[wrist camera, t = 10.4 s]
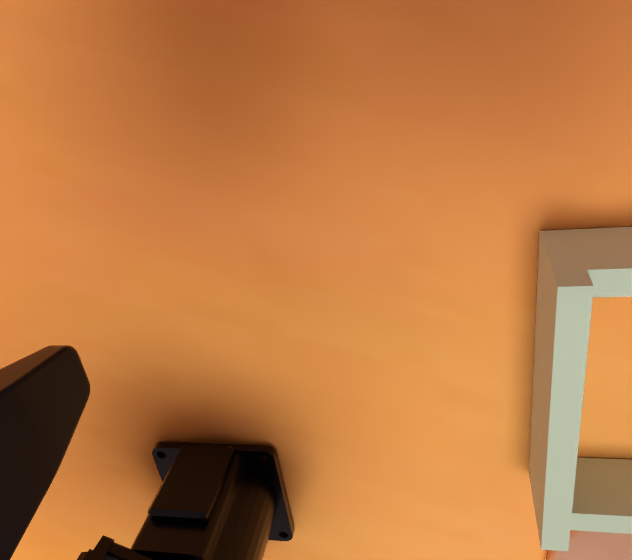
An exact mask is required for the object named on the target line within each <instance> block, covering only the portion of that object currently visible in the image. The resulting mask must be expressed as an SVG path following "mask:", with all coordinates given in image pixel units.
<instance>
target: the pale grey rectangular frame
mask: <svg viewBox="0 0 632 560" xmlns="http://www.w3.org/2000/svg"><path fill="white" fill-rule="evenodd" d="M628 296H632V227H611V228H590V229H569V230H547V231H539V253H538V276H537V299H536V322H535V344H534V367H533V390H532V413H531V435H530V458H529V476H530V482H531V488H532V495H533V501H534V507H535V514H536V520H537V526H538V533H539V539H540V545H541V550H555V551H568V549H569V538H570V530H577V531H593V532H609V533H625V534H632V459H605V458H577V455H578V445H579V434H580V424H581V413H582V403H583V393H584V382H585V372H586V361H587V351H588V341H589V330H590V320H591V309H592V299H593V297H628Z"/></svg>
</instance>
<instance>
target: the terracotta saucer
mask: <svg viewBox="0 0 632 560" xmlns="http://www.w3.org/2000/svg"><path fill="white" fill-rule="evenodd" d="M546 560H632V534H625V533H609V532H593V531H577V530H570V538H569V549H568V551H555V550H548V553H547V559H546Z"/></svg>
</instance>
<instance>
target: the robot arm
mask: <svg viewBox="0 0 632 560" xmlns="http://www.w3.org/2000/svg"><path fill="white" fill-rule="evenodd" d="M89 394H90V383H89V380H88V377H87V375H86V372H85V370H84V367H83V365H82V362H81V360H80V357H79V355H78V353H77V351H76V350H75V349H74V348H73V347H71V346H48V347H45V348H43V349H41V350H39V351H37V352H35V353H33V354H31V355H29V356H27V357H25V358H23V359H21V360H19V361H16V362H14V363H12V364H10V365H8V366H6V367H4V368H2V369H0V560H10V558H11V557H12V555H13V553H14V551H15V549H16V547H17V546H18V544H19V542H20V540H21V538H22V536H23V535H24V533H25V531H26V529H27V527H28V525H29V523H30V522H31V520H32V518H33V516H34V514H35V512H36V511H37V509H38V507H39V505H40V503H41V501H42V499H43V498H44V496H45V494H46V492H47V490H48V488H49V487H50V485H51V483H52V481H53V479H54V477H55V475H56V473H57V471H58V468H59V466H60V464H61V462H62V460H63V457H64V455H65V452H66V450H67V448H68V445H69V443H70V441H71V438H72V436H73V434H74V431H75V429H76V426H77V424H78V422H79V419H80V417H81V415H82V412H83V410H84V408H85V405H86V403H87V400H88V398H89ZM152 455H153V457H154V460H155V463H156V466H157V468H158V471H159V474H160V477H161V479H162V482H163V483H162V485H161V486H160V488H159V490H158V492H157V494H156V496H155V498H154V500H153V502H152V504H151V506H150V508H149V510H148V516H147V518H146V520H145V522H144V524H143V526H142V528H141V529H140V531H139V533H138V535H137V537H136V539H135V541H134V543H133V545H132V547H131V549H129V548H127V547H124V546H122V545H119V544H117V543H115V542H114V540H113V539H111V538H109V537H106V536H104V535H103V536H102V538H101V539H100V541H99V542H98V544H97V545H96V547H95V548H94V550H91V549H89V551H88V552H81V554H80V556H79V557H78V559H77V560H262V559H263V556H264V552H265V549H266V545H267V542H268V540H277V541H289V540H291V539H292V537H293V533H294V526H293V522H292V518H291V513H290V509H289V505H288V500H287V496H286V492H285V488H284V483H283V479H282V475H281V470H280V466H279V462H278V457H277V453H276V451H275V450H274V449H273V448H271V447H269V446H262V445H234V444H205V443H177V442H159V443H157V444H156V446H155V447H154V449H153V451H152ZM264 455H265V456H264ZM266 456H267V457H266Z"/></svg>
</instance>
